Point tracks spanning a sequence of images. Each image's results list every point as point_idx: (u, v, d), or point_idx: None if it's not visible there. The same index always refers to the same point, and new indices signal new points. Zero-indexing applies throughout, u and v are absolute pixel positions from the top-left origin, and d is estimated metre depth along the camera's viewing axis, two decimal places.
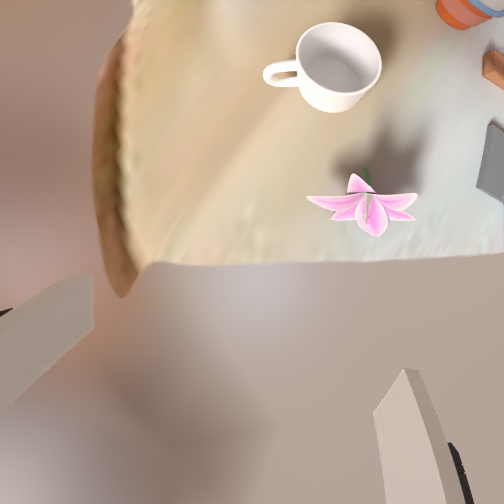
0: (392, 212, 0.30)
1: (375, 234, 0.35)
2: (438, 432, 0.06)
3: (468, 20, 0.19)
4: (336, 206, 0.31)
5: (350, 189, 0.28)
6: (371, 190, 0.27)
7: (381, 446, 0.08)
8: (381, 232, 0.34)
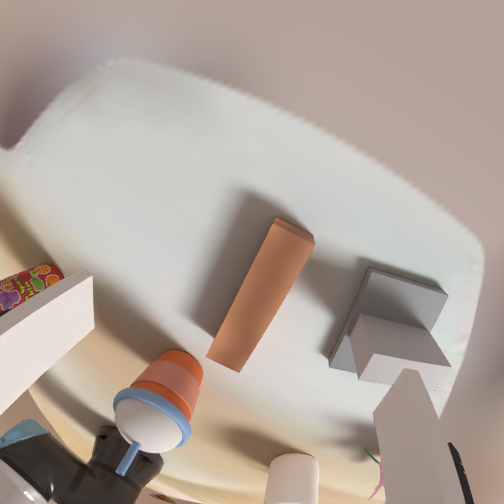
0: None
1: None
2: (438, 432, 0.06)
3: (196, 399, 0.30)
4: None
5: (376, 488, 0.30)
6: (380, 485, 0.28)
7: (381, 446, 0.08)
8: None
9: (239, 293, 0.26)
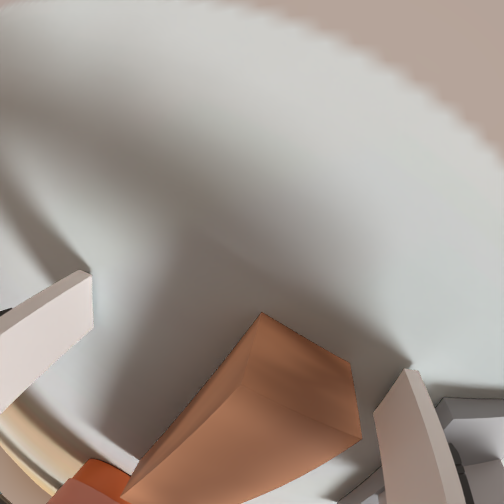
0: None
1: None
2: (439, 433, 0.06)
3: None
4: None
5: None
6: None
7: (382, 447, 0.08)
8: None
9: (157, 470, 0.09)
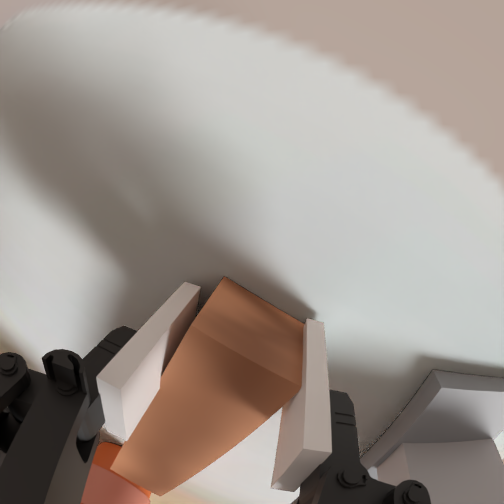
0: None
1: None
2: (322, 374, 0.08)
3: None
4: None
5: None
6: None
7: None
8: None
9: (137, 426, 0.11)
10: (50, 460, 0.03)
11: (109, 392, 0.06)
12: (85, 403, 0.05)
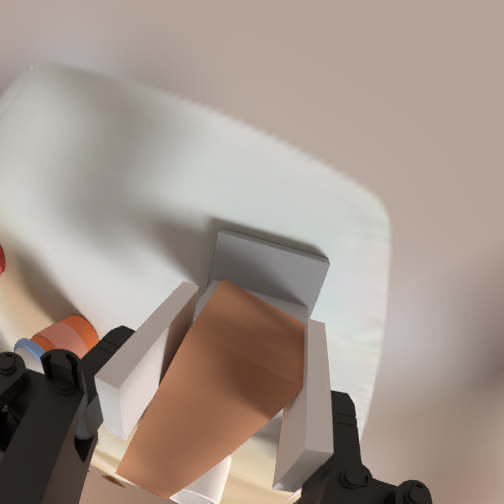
0: None
1: None
2: (323, 374, 0.08)
3: None
4: None
5: (296, 492, 0.29)
6: None
7: None
8: None
9: (140, 429, 0.11)
10: (48, 459, 0.03)
11: (107, 392, 0.06)
12: (83, 402, 0.05)
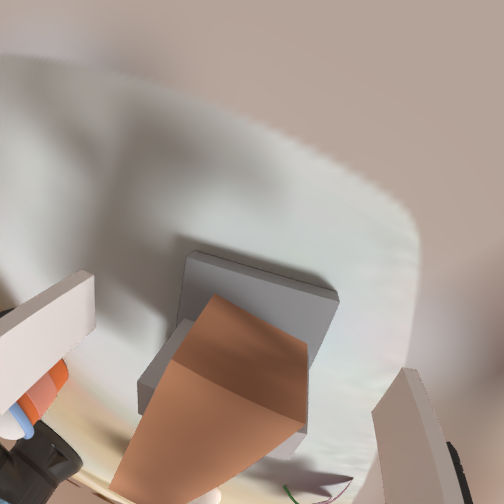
0: None
1: (350, 482, 0.25)
2: (437, 431, 0.06)
3: (48, 394, 0.22)
4: None
5: None
6: None
7: (380, 445, 0.08)
8: None
9: (128, 454, 0.09)
10: None
11: None
12: None
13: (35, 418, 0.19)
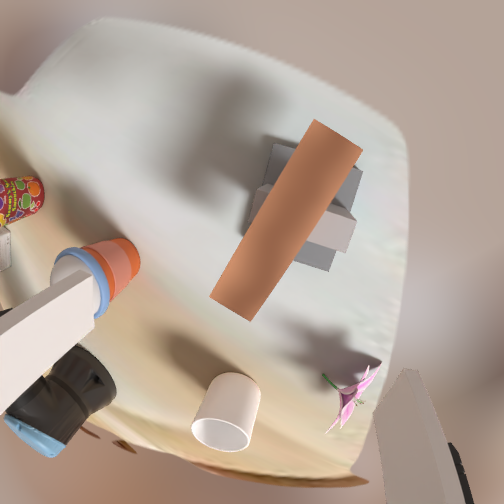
0: (360, 381, 0.33)
1: (379, 366, 0.36)
2: (438, 432, 0.06)
3: (125, 276, 0.34)
4: (350, 411, 0.35)
5: (336, 421, 0.33)
6: (338, 415, 0.32)
7: (381, 446, 0.08)
8: (378, 368, 0.35)
9: (264, 205, 0.20)
10: None
11: None
12: None
13: (111, 294, 0.31)
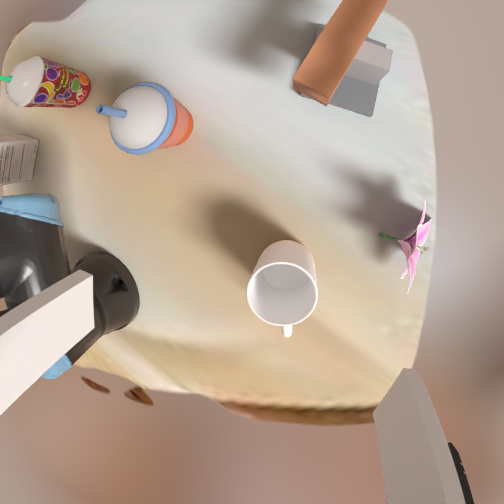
0: (420, 222, 0.33)
1: (430, 222, 0.36)
2: (438, 432, 0.06)
3: (184, 122, 0.34)
4: (414, 270, 0.35)
5: (406, 270, 0.33)
6: (409, 256, 0.32)
7: (381, 446, 0.08)
8: (430, 220, 0.35)
9: (332, 18, 0.21)
10: None
11: None
12: None
13: (172, 128, 0.31)
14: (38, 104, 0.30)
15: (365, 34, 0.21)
